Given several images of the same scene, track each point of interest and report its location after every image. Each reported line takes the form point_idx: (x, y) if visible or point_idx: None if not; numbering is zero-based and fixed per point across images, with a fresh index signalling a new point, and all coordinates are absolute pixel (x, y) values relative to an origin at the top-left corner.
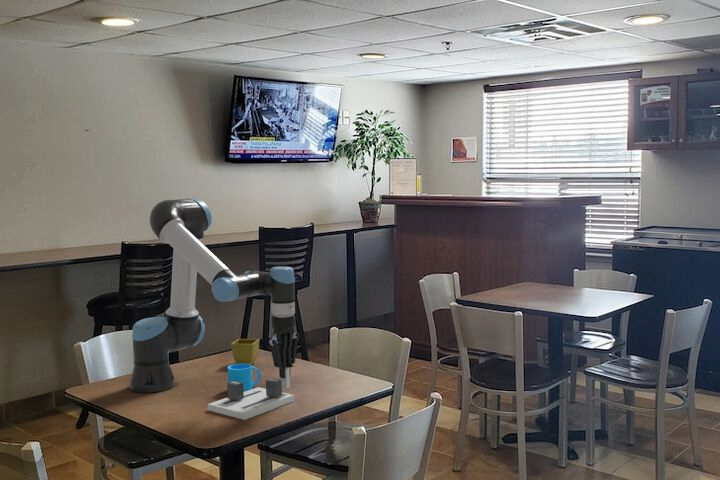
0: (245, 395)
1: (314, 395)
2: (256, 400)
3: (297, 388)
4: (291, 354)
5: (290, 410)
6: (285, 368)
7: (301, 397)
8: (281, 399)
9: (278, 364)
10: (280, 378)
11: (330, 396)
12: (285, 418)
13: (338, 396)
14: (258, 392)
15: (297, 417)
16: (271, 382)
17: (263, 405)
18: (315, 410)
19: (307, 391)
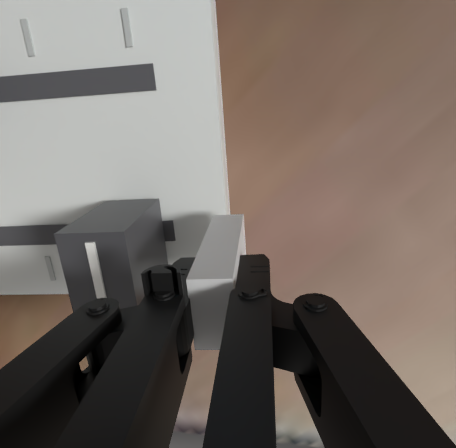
0: (31, 76)
1: (368, 292)
2: (34, 202)
3: (439, 125)
4: (329, 422)
5: None
6: (194, 338)
7: (303, 263)
8: None
9: (78, 379)
10: (204, 238)
11: (395, 358)
12: None
13: (414, 384)
14: (127, 91)
15: None
16: (71, 282)
17: (20, 285)
18: (200, 411)
19: (413, 217)
